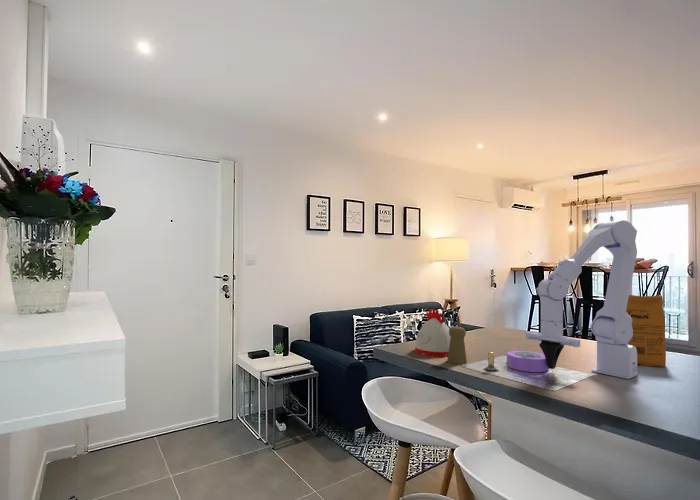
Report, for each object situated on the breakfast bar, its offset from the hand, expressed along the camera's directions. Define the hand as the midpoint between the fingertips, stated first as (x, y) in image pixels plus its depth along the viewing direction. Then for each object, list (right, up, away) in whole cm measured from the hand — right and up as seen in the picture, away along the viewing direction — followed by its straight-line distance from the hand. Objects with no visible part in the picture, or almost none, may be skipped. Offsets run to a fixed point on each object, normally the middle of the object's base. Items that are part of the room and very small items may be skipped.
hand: (551, 368), depth 113 cm
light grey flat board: (-7, -1, +2) cm, 7 cm away
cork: (-24, -2, +11) cm, 27 cm away
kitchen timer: (-28, -2, +25) cm, 38 cm away
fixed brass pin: (-17, -1, +2) cm, 17 cm away
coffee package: (+36, -3, +14) cm, 39 cm away
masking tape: (-4, -2, +5) cm, 7 cm away
